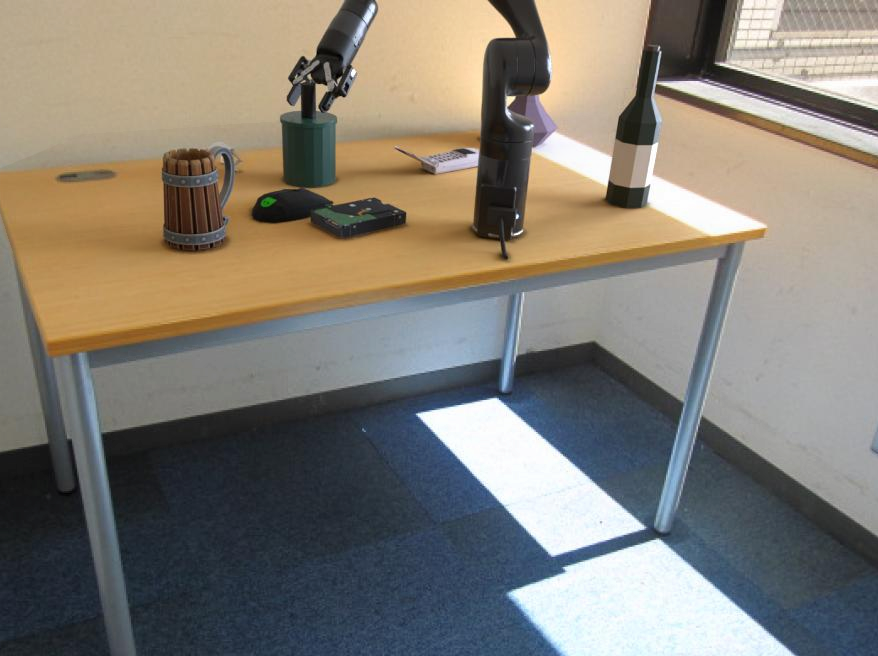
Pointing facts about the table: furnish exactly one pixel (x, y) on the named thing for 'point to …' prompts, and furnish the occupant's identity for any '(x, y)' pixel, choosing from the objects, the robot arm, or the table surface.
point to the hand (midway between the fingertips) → (305, 107)
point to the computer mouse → (287, 205)
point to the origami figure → (227, 148)
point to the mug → (195, 198)
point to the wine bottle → (636, 139)
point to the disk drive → (357, 217)
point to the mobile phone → (447, 160)
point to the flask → (534, 117)
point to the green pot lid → (308, 111)
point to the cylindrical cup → (309, 156)
